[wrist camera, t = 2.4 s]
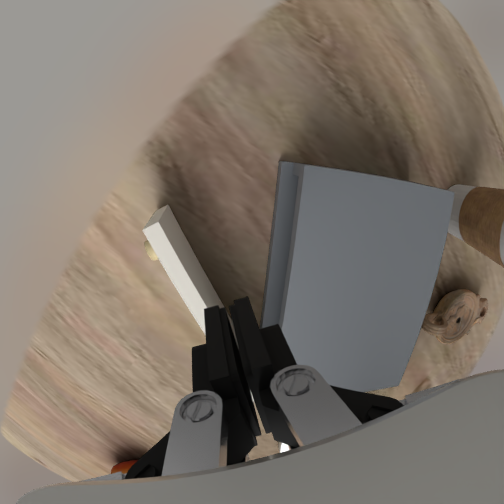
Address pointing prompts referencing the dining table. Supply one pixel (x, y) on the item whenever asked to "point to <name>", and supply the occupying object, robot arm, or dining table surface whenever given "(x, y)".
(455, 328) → the oil lamp
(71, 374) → the dining table surface
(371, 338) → the cabinet
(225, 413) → the robot arm
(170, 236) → the door
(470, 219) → the coffee cup
